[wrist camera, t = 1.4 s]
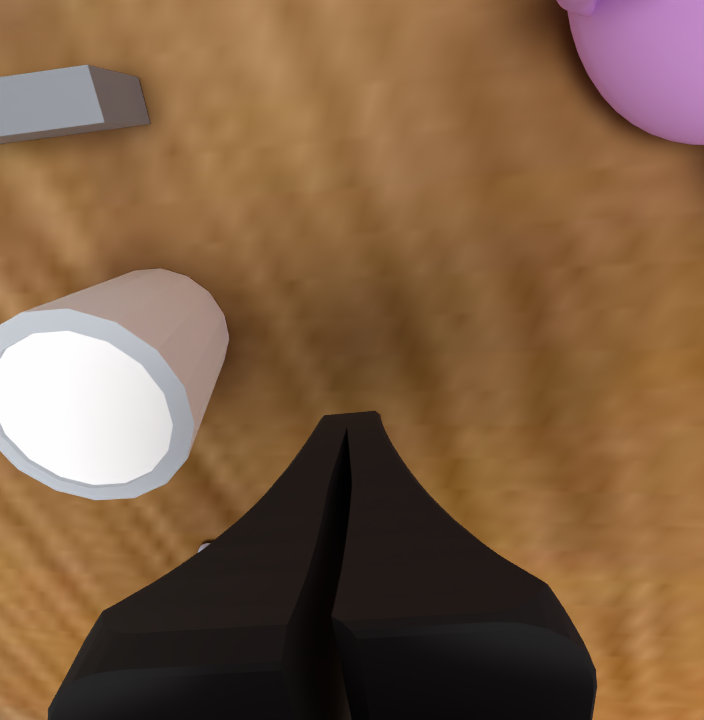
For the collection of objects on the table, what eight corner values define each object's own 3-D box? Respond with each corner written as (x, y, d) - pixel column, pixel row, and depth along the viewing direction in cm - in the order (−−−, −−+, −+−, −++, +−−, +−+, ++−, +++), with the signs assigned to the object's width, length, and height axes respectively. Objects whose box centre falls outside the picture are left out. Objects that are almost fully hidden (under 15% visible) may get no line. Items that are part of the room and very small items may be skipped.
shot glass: (66, 359, 22) (-53, 450, 16) (111, 221, 19) (-11, 265, 13) (208, 422, 23) (151, 531, 17) (268, 301, 21) (227, 377, 14)
